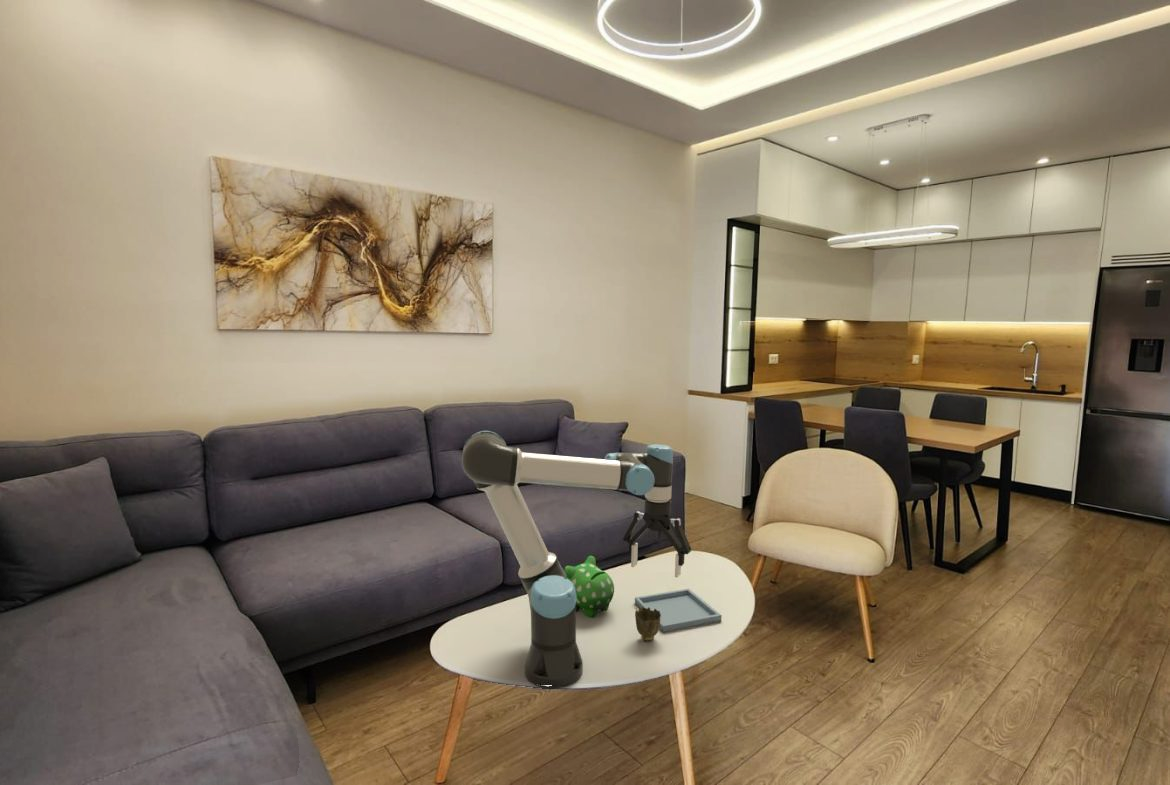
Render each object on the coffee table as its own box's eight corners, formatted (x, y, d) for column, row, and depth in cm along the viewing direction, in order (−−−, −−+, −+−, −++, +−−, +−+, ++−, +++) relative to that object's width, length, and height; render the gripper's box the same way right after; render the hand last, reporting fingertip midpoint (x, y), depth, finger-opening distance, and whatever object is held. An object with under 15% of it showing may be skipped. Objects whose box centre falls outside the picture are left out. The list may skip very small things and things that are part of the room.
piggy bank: (580, 593, 196) (580, 550, 195) (622, 609, 185) (623, 564, 183) (551, 607, 186) (550, 562, 184) (594, 626, 174) (594, 578, 173)
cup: (630, 642, 165) (630, 615, 164) (640, 630, 171) (640, 604, 170) (655, 648, 161) (655, 621, 160) (664, 636, 168) (664, 610, 167)
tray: (663, 632, 170) (663, 626, 170) (634, 603, 189) (634, 597, 188) (721, 621, 177) (721, 615, 176) (688, 594, 195) (688, 588, 195)
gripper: (704, 502, 162) (701, 575, 164) (624, 489, 174) (622, 557, 176) (695, 509, 156) (692, 585, 157) (613, 495, 168) (611, 565, 170)
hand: (655, 570), depth 167 cm, fingers open, 13 cm apart
